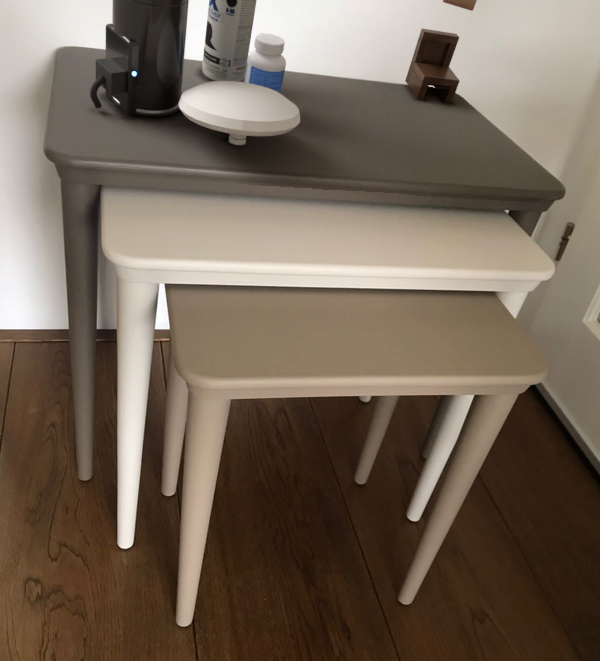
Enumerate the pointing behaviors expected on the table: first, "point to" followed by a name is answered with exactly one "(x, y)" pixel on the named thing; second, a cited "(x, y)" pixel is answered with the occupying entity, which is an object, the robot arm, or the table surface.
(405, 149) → the table surface
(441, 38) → the miniature wooden chair
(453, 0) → the cream cosmetic box
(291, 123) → the white domed disc
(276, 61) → the pill bottle
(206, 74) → the spray can
